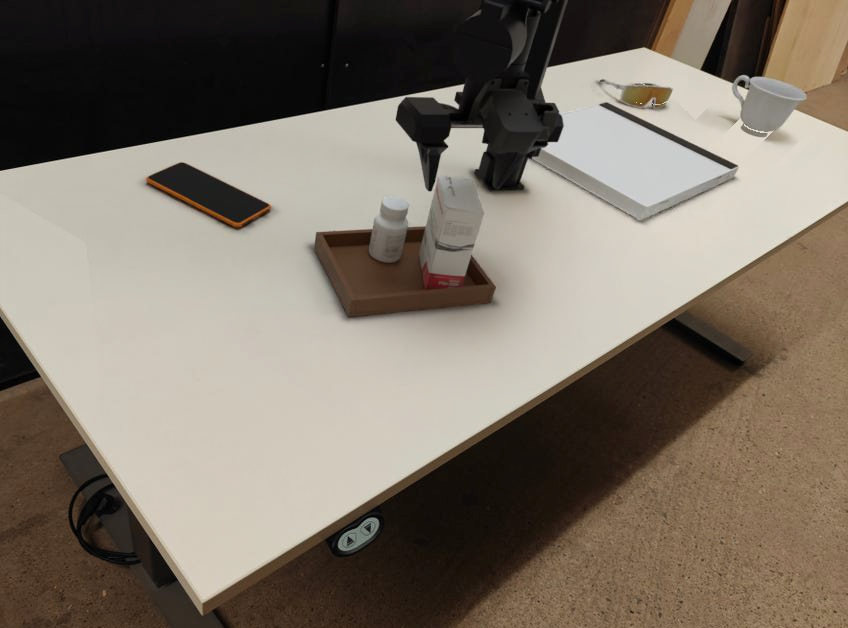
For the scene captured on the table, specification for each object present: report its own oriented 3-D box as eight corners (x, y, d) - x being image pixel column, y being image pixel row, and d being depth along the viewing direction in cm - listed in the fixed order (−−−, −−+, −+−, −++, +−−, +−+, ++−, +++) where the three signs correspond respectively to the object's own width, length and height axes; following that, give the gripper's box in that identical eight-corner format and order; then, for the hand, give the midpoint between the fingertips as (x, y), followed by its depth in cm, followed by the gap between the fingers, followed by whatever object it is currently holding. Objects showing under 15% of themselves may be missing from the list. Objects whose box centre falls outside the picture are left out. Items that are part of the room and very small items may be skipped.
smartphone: (237, 230, 88) (238, 224, 88) (144, 182, 93) (143, 177, 92) (273, 209, 93) (273, 203, 93) (182, 165, 98) (182, 160, 98)
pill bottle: (406, 254, 90) (418, 203, 84) (390, 268, 87) (401, 215, 81) (379, 241, 91) (389, 190, 86) (361, 254, 88) (371, 201, 83)
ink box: (461, 295, 85) (486, 213, 77) (423, 291, 84) (445, 208, 76) (452, 256, 91) (476, 177, 83) (417, 252, 90) (437, 172, 83)
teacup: (725, 111, 158) (748, 68, 151) (787, 137, 151) (814, 93, 145) (706, 121, 151) (729, 76, 144) (770, 148, 144) (797, 102, 138)
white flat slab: (605, 101, 142) (739, 165, 127) (601, 112, 144) (733, 177, 129) (502, 127, 122) (647, 207, 107) (498, 139, 124) (640, 220, 109)
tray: (444, 240, 95) (449, 224, 93) (491, 302, 85) (496, 287, 84) (313, 248, 88) (316, 231, 86) (348, 317, 79) (351, 300, 77)
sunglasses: (623, 107, 148) (631, 84, 145) (588, 90, 160) (595, 68, 157) (676, 111, 152) (685, 88, 149) (639, 94, 163) (646, 72, 161)
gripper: (453, 83, 62) (418, 229, 72) (615, 88, 68) (561, 220, 79) (408, 40, 69) (382, 177, 79) (558, 47, 75) (516, 174, 86)
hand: (462, 188), depth 81 cm, fingers open, 9 cm apart
